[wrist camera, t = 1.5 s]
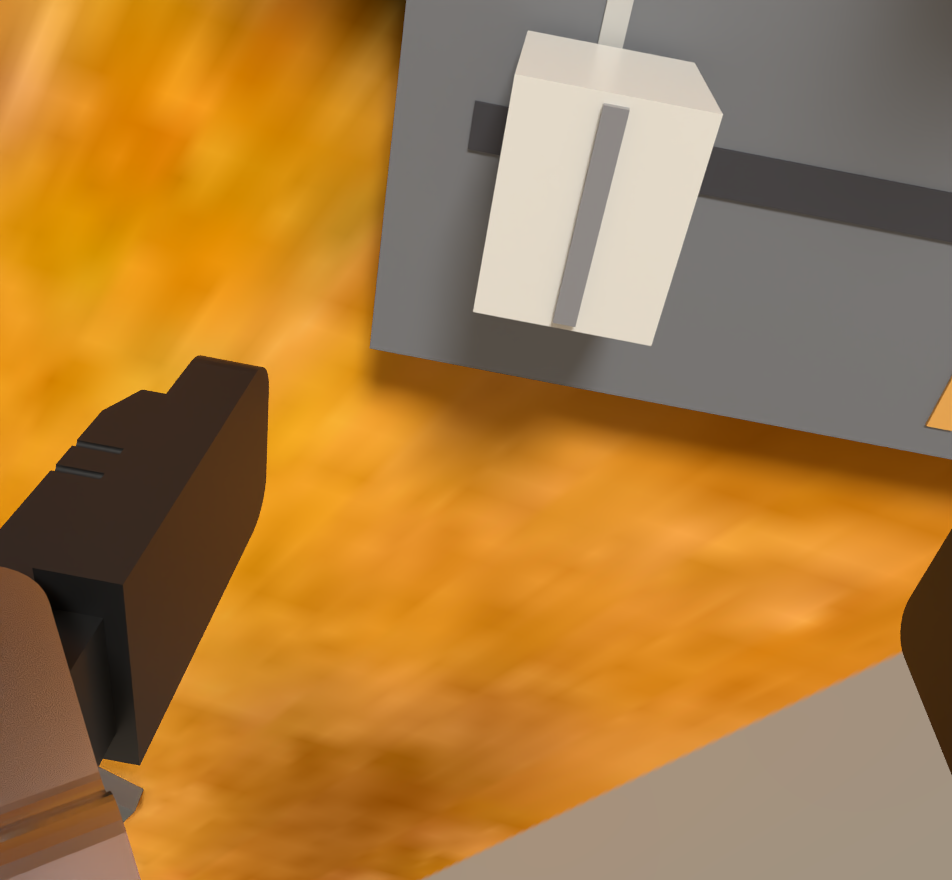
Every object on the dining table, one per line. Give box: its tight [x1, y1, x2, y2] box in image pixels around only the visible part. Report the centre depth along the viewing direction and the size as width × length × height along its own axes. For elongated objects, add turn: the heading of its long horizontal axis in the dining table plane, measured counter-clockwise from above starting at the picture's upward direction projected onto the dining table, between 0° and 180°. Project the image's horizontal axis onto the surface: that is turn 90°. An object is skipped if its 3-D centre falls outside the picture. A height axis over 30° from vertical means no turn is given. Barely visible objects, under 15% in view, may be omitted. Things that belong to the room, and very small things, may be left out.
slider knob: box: [473, 30, 723, 346], centre depth 20 cm, size 4×5×5 cm
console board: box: [370, 0, 952, 459], centre depth 24 cm, size 22×14×3 cm, turn 81°
